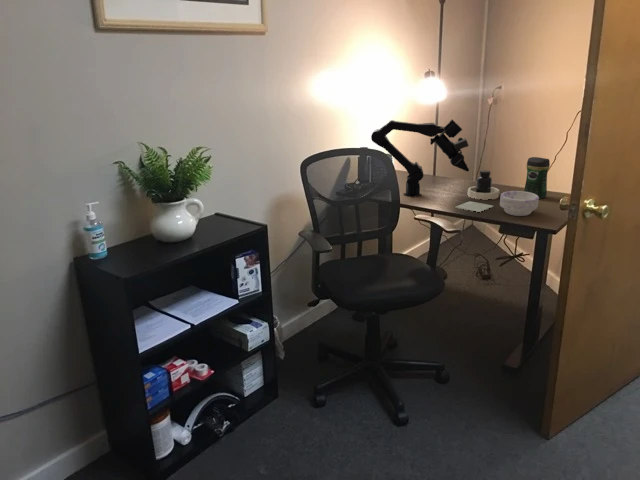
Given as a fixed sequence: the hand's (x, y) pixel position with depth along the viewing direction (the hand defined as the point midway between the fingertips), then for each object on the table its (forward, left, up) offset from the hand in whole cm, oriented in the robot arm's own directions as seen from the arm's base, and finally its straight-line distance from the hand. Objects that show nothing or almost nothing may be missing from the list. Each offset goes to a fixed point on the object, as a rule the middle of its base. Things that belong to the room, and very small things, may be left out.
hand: (467, 168), depth 247 cm
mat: (+16, -12, -13) cm, 24 cm away
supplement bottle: (+5, +6, -13) cm, 16 cm away
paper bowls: (+33, -4, -13) cm, 36 cm away
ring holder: (+5, +6, -13) cm, 15 cm away
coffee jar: (+21, +23, -13) cm, 34 cm away
